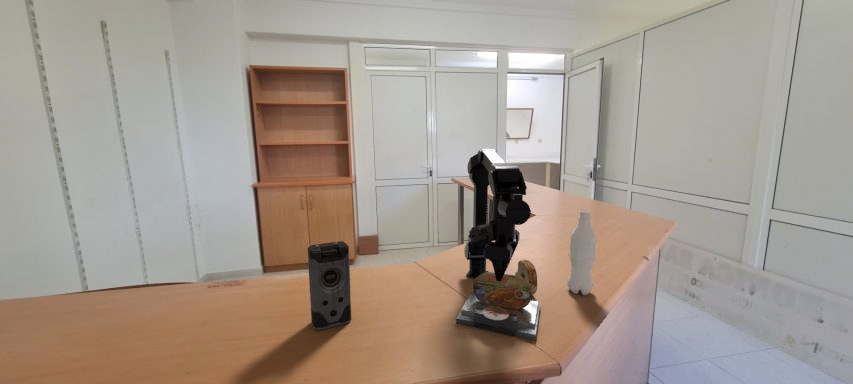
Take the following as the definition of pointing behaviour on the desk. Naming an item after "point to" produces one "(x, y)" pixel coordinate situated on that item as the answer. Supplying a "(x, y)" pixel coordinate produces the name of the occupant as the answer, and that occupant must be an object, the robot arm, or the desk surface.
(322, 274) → the electronic device
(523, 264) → the stone disc
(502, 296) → the tin
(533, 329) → the dial scale
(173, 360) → the desk surface
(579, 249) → the water bottle
